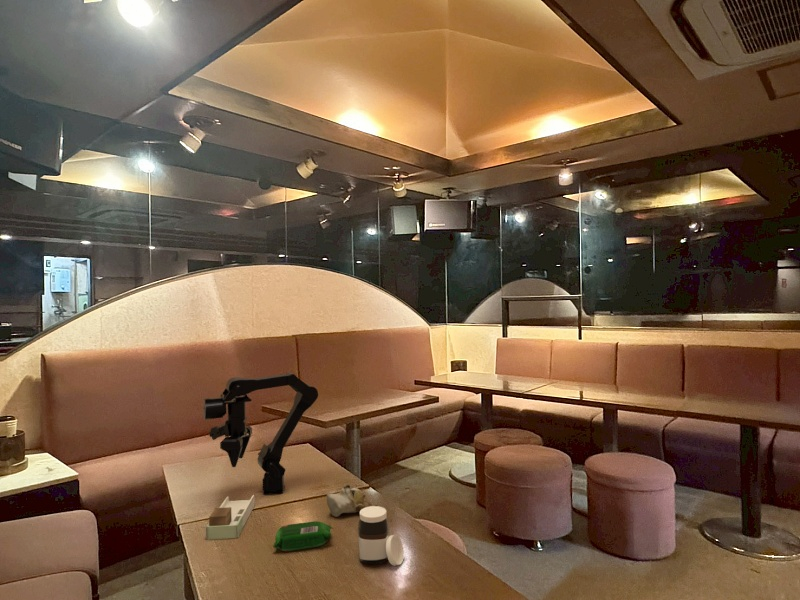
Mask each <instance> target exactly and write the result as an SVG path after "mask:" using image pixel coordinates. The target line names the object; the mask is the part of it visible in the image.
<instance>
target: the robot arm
mask: <svg viewBox="0 0 800 600" xmlns="http://www.w3.org/2000/svg"><path fill="white" fill-rule="evenodd" d="M286 386H289V387H290V388H291V389H292V390H293V391H295V392H296V394H295V396H294V401H293V403H292V404H293V405H292V407H291V409H290V411H289V412H288V413H287V416H286V417H285V419H284V420H283V422H282V424H281V426H280V428H279V429H278V431H277V433H276V434H275V436H274V438H273V439H272V441H271V442H270V443H269V444H268V445H266V444H265V443H263V445H262V447H261V449H260V451H259V452H258V453H257V455H258V457H257V459H256V460H257V464H258V466H259V467H260V468H261V469H262V470H263V471H264V474H263V478H262V481H261V482H262V491H263V496H264V495H282V494H283V493H284V492H285V491H284V490H285V488H286V485H285V472H286V468H285V467H284V466H283V465H282V464H281V463H280V462H281V460H282V454H283V451H284V448H285V446H286V444H287V443H288V441H289V439H290V437H291V435H292V434H293V432H294V430H295V429H296V427H297V425H298V423H299V422H300V420H301V418H302V417H303V415H304V413H305V412H306V411H307V410H309V408H311V407H312V405H313V404H314V403H315V402H316V401H317V399H318V398H319V391H318V389H317V388H316V387H314V386H312V385H311V384H307V383H305V382H304V381H303V380H302V379H300V378H299V377H297V375H296V374H294V373H291V372H287V373H284V374H282V373H281V374H276V375H267V376H262V377H241V376H240V377H236V376H235V377H231V378H229V379H228V380H227V381H226V385H225V388H224V390H223V391H222V393H221V394H220V395H219V396H218V397H207V398H204V401H203V407H202V415H203V420H204V421H205V420H206V421H207V420H213V419H221V418H224V416H225V415H227V419H226V420H225V422H224V423H223V424H220V425H215V426H213V427H211V428H210V430H209V434H208V436H209V437H211V439H212V441H214V440H217V439H219V438H221V437H223V436H224V437H225V438H224V437H223V439H222V440H221V441H220V442H219V448H220V449H221V450H222V451H224V452H226V454H227V455H228V458H229V461H230V464H231V468H236V467H237V464H238V461H239V459H243V457H244V455H245V452H246V450H247V448H248V445H249V443H250V439H251V437H252V434H253V428H252V426H250V425H246V422H247V421H248V417H247V416H246V413H247V411H246V403H248V402H252V398H250V397H249V395H248V394H251V393H253V392H255V391H259V390H265V389H271V388H278V387H286Z"/></svg>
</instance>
